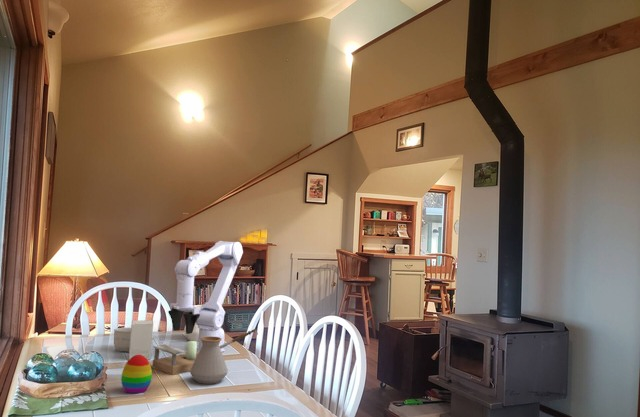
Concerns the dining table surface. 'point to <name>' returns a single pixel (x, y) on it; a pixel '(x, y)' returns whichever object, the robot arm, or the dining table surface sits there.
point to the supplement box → (141, 338)
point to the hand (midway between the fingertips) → (182, 331)
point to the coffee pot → (212, 360)
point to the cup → (194, 330)
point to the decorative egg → (136, 374)
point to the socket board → (172, 360)
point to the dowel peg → (191, 350)
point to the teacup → (122, 338)
